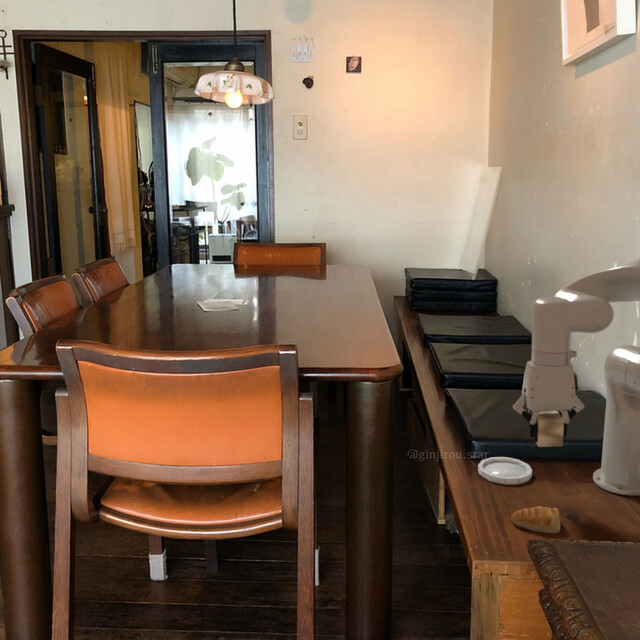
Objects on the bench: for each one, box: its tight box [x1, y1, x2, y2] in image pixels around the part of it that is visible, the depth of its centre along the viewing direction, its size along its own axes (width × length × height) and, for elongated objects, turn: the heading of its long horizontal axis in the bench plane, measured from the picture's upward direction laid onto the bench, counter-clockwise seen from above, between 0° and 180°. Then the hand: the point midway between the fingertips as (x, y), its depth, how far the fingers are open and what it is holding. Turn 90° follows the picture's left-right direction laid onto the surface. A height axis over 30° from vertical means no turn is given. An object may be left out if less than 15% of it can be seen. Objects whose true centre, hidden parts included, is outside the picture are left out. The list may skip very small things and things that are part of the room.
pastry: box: [510, 505, 561, 534], centre depth 138 cm, size 9×7×4 cm
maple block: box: [535, 411, 564, 448], centre depth 146 cm, size 5×5×6 cm
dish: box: [477, 456, 533, 486], centre depth 161 cm, size 12×12×1 cm
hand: (547, 438), depth 147 cm, fingers closed on maple block, 5 cm apart
